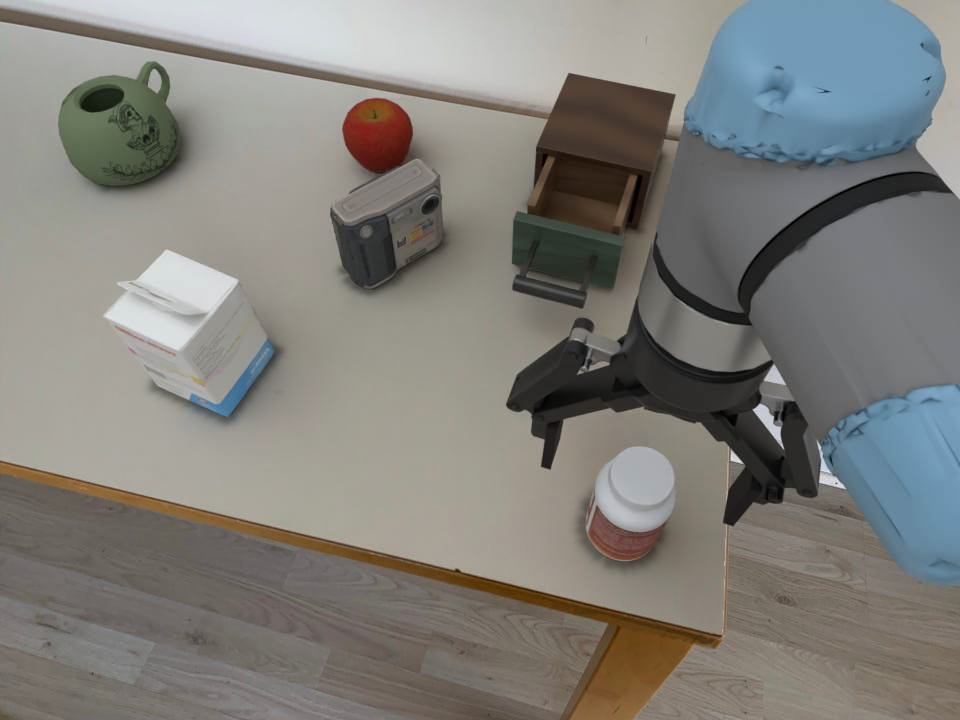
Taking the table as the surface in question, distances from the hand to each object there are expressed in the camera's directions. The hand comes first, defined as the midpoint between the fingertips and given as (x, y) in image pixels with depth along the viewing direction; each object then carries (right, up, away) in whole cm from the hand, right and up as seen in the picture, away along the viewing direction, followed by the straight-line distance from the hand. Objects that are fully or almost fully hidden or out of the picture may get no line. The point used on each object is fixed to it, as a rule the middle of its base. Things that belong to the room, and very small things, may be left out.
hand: (638, 479), depth 54 cm
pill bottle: (0, -5, +8) cm, 10 cm away
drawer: (-2, +20, +23) cm, 30 cm away
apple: (-23, +32, +33) cm, 52 cm away
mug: (-53, +35, +35) cm, 72 cm away
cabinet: (+2, +30, +30) cm, 43 cm away
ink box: (-38, +8, +17) cm, 42 cm away
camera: (-21, +20, +25) cm, 38 cm away
